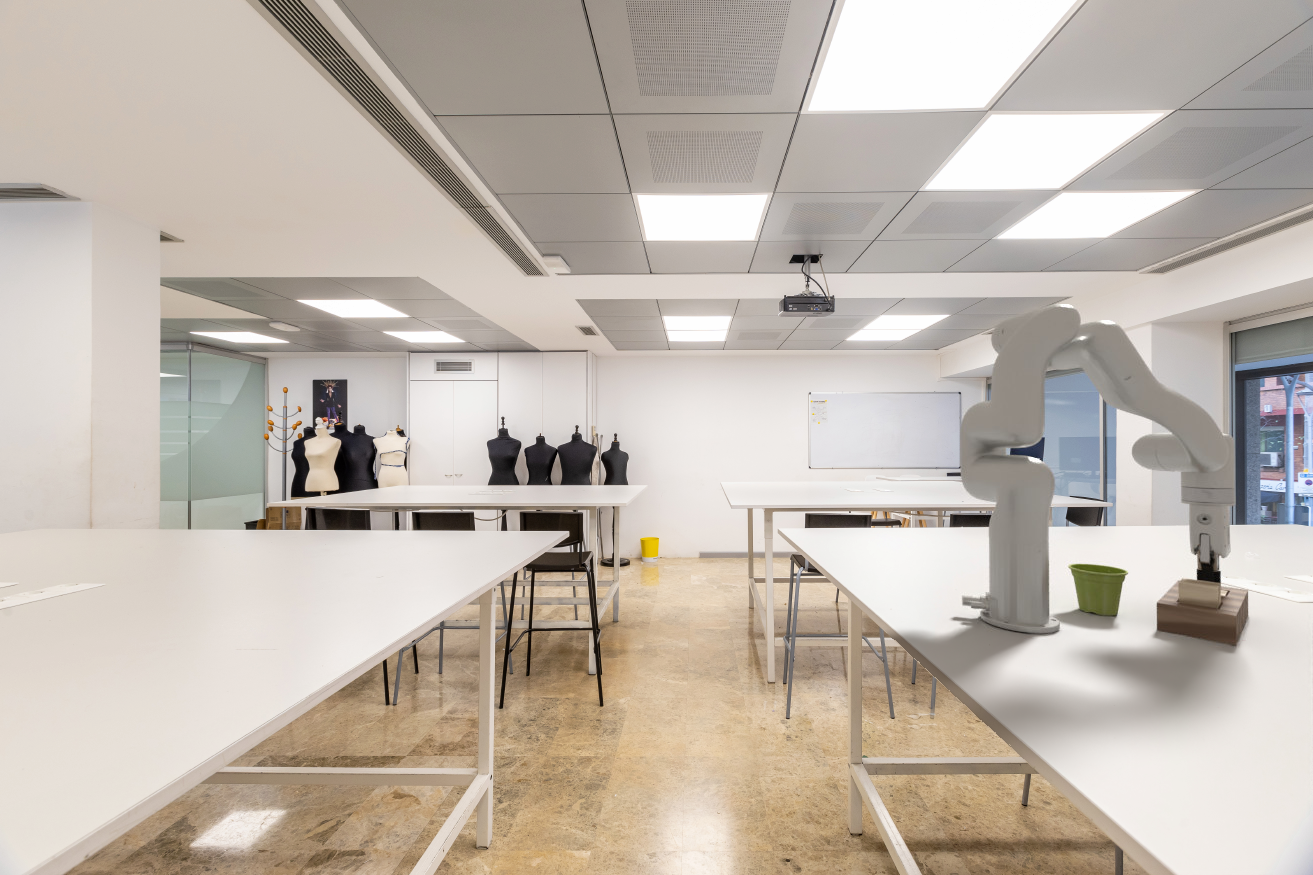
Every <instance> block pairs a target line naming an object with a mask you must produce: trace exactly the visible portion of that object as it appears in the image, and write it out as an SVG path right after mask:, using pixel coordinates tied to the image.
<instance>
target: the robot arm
mask: <svg viewBox="0 0 1313 875" xmlns="http://www.w3.org/2000/svg"><path fill="white" fill-rule="evenodd" d="M990 341H991V345H992V348H993V349H994V351H995V352H996V353H997V354H998V355H997V357H996V359H995V361H994V364H993V368H992V373H991V385H990V386H991V387H990V399H989V400H984V401H980V402H977V403H975V404H973V405H971V406H970V407H969V408H968V410H967V411H966V412H965V414H964V415H963V418H962V421H961V423H960V429H959V431H960V432H959V433H960V435H959V442H960V443H959V444H960V445H959V446H960V447H959V448H960V449H959V450H960V453H959V455H960V456H959V457H960V458H959V459H960V478H961V482H962V485H963V488H964V489H965V491H966V492H967V494H969V495H970V496H972V497H973V498H975V499H978V500H980V501H984V502H990V503H991V502H992V503H996V504H995V506H994V509H993V511H992V513H991V516H990V518H989V524H988V564H989V565H988V571H989V572H988V573H989V574H988V576H989V577H988V578H989V584H988V585H989V587H988V588H989V591H986V592H985V595H980V596H978V597H977V596H972V595H962V596H961V604H962V605H961V606H965V607H970V609H974V610H975V609H976V610H980V611H979V613H980V614H979V616H980V619H981V620H983V622H985V623H987V624H990V625H992V626H993V627H994V626H995V627H999V628H1001V629H1005V630H1008V631H1009V630H1010V631H1013V632H1014V631H1016V632H1020V633H1029V634H1050V633H1055V632H1058V631H1059V630H1060V627H1061V623H1060V621H1059V619H1057V618H1056V617H1054V616H1052V615H1050V543H1049V542H1050V541H1049V538H1050V537H1049V536H1050V535H1049V532H1050V531H1049V530H1050V528H1049V527H1050V525H1049V524H1050V512H1051V508H1052V503H1053V499H1054V496H1055V495H1054V494H1055V489H1056V488H1055V487H1056V479H1055V475H1054V472H1053V471H1052V469H1051V468H1050V467H1049V465H1047V464H1046V462H1044V461H1042V460H1040V459H1039V458H1036V457H1033V456H1030V455H1029V456H1028V455H1021V454H1020V455H1017V454H1007V449H1021V448H1029V447H1032V446H1034V445H1036V444H1037V443H1039V442H1040V441H1041V440H1042V438H1043V436H1044V434H1045V425H1046V424H1045V423H1046V420H1045V419H1046V416H1045V415H1046V411H1045V410H1046V406H1045V403H1046V402H1045V399H1046V398H1045V384H1046V375H1047V374H1046V373H1047V369H1050V370H1059V371H1060V370H1061V371H1063V370H1065V371H1066V370H1072V369H1073V370H1074V369H1077V368H1078V369H1079V368H1081V369H1082V370H1083V371H1084V372H1085V374H1086V376H1087V377H1088V379H1089V380H1090V382H1091V383H1092V384H1093V386H1094V387H1095V388H1096V390H1097V392H1098V393H1099V394H1100V397H1101V398H1102V399H1103V401H1104V402H1105V403H1106V404H1107V405H1108V406H1110V407H1112V408H1114V409H1116V410H1119V411H1123V412H1125V413H1129V414H1132V415H1134V416H1138V417H1141V418H1145V419H1147V420H1149V421H1152V422H1154V423H1157V424H1158V425H1160V426H1161V427H1163V428H1164V429H1166V430H1167V431H1169V432H1156V433H1155V432H1153V433H1148V434H1146V435H1144V436H1141V437H1139V438H1138V439H1137V440H1136V441H1135V442H1134V444H1133V445H1132V447H1131V455H1132V458H1133V461H1134V462H1136V464H1138V465H1139V466H1141V467H1143V468H1145V469H1147V470H1151V471H1157V472H1158V471H1159V472H1172V473H1173V472H1180V491H1181V492H1180V495H1181V496H1180V499H1181V500H1180V503H1181V504H1185V505H1188V506H1189V507H1188V509H1189V510H1188V511H1189V512H1188V513H1189V514H1188V515H1189V516H1188V519H1189V520H1188V525H1189V544H1190V553H1191V554H1192V555H1194V556H1196V557H1197V559H1196V560H1197V562H1196V563H1197V569H1196V580H1201V581H1208V582H1215V583H1221V584H1222V580H1221V578H1222V577H1221V576H1222V574H1221V573H1222V570H1220V557H1221V559H1225V558H1227V557H1228V556H1229V555H1230V554H1231V534H1230V532H1231V531H1230V512H1229V507H1233V506H1236V462H1235V460H1236V457H1235V456H1236V455H1235V454H1236V452H1235V451H1236V450H1235V449H1236V447H1235V439H1234V438H1233V436H1232V435H1230V434H1226V433H1223V432H1222V430H1221V429H1220V428H1219V426H1218V425H1217V422H1216V421H1215V419H1213V417H1212V416H1211V415H1210V414H1209V413H1208V411H1206V409H1204V408H1203V407H1202V406H1201V405H1200V404H1198V403H1196V402H1195V401H1193V400H1191V399H1190V398H1188V397H1187V396H1185V395H1184V394H1182V393H1180V392H1179V391H1177V390H1175V389H1172V388H1171V387H1169V386H1167V385H1164V384H1163V383H1162V382H1160V381H1159V380H1158V379H1157V378H1156V377H1155V375H1154V374H1153V372H1152V371H1151V369H1150V368H1149V366H1148V365H1147V363H1146V362H1145V360H1144V359H1143V357H1142V356H1141V354H1140V353H1139V351H1138V350H1137V348H1136V346H1134V344H1133V342H1132V341H1131V339H1130V338H1129V337H1128V335H1127V333H1126V332H1125V331H1124V329H1123V328H1122V327H1121V325H1119V324H1117V323H1116V322H1113V321H1111V320H1096V321H1090V322H1086V323H1081V314H1080V313H1079V310H1077V309H1076V308H1075V307H1074V306H1072V305H1070V304H1065V303H1064V304H1063V303H1061V304H1059V303H1058V304H1052V305H1047V306H1043V307H1039V308H1035V309H1033V310H1030V311H1026V312H1025V313H1024V312H1023V313H1020V314H1016V315H1013V316H1011V317H1008V318H1005V319H1004V320H1002V321H1001V322H999V323H998V324H996V326H995V327H994V329H993V331H992V333H991V339H990Z"/></svg>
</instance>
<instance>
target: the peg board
mask: <svg viewBox="0 0 1313 875" xmlns="http://www.w3.org/2000/svg"><path fill="white" fill-rule="evenodd" d="M1180 580H1181V579H1180ZM1180 580H1179V579H1177V581H1176V582H1175V583H1174V584H1173V585H1172V586H1171V587H1170V588H1169V589H1168V590H1167V591H1166V592H1165V593H1164V595H1162V597H1161V598H1159V599H1158V601H1157V602H1156V631H1159V632H1165V633H1169V634H1170V633H1171V634H1174V635H1179V636H1180V635H1181V636H1185V637H1190V638H1193V639H1194V638H1196V639H1200V640H1204V641H1205V640H1206V641H1211V642H1216V643H1220V644H1226V645H1232V646H1237V645H1238V643H1239V640H1240V638H1241V635H1242V632H1243V630H1244V628H1245V625H1246V623H1247V620H1248V617H1249V589H1242V588H1237V587H1229V586H1222V585H1221V590H1224V591H1228V595H1227V596H1223V595H1221V608H1220V609H1217V608H1211V607H1205V606H1199V605H1192V604H1186V603H1180V602H1179V590H1178V583H1179V582H1180Z"/></svg>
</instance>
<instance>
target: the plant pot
mask: <svg viewBox="0 0 1313 875" xmlns="http://www.w3.org/2000/svg"><path fill="white" fill-rule="evenodd" d="M1068 569H1070V572H1071V575H1072V578H1073V580H1074V587H1075V591H1076V598H1077V603H1078V609H1079V610H1080V611H1083V612H1085V613H1094V614H1096V615H1099V616H1110V617H1111V616H1115V615H1118V613H1119V608H1120V601H1121V594H1122V589H1123V583H1124V581H1125V580H1126V576H1127V575H1128V574H1129V571H1128V570H1126V569H1123V568H1120V567H1115V566H1110V565H1103V564H1102V565H1101V564H1091V563H1072V564H1068Z"/></svg>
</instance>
